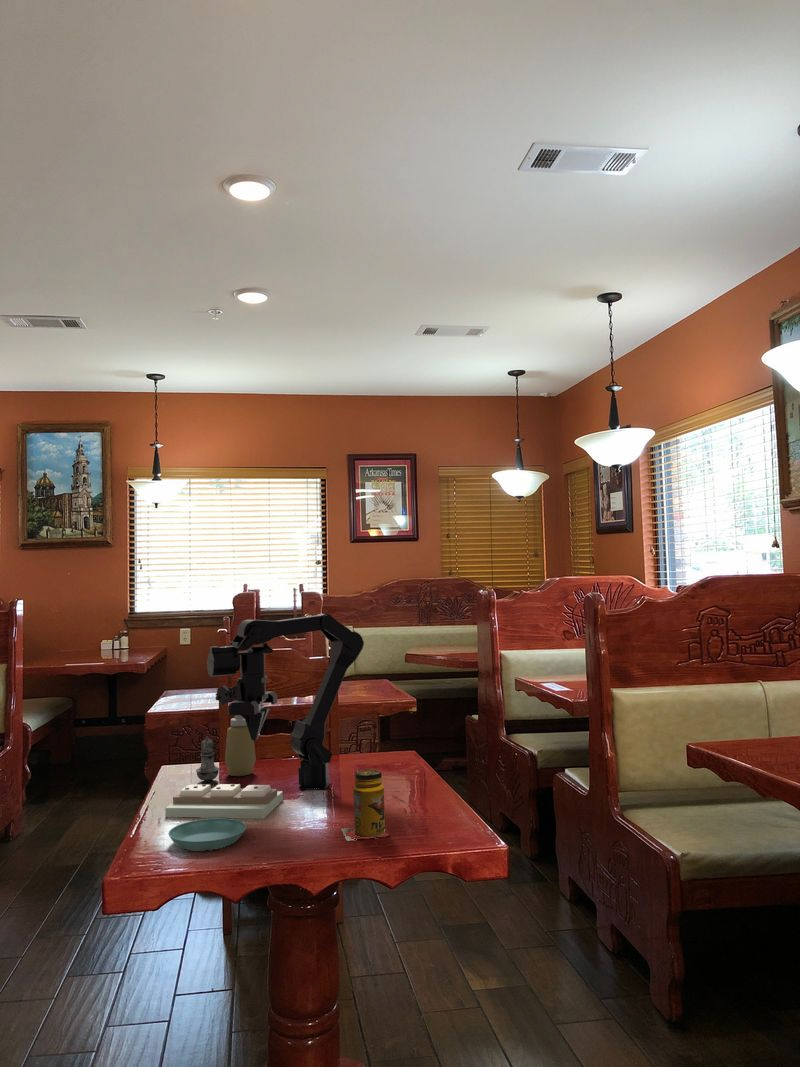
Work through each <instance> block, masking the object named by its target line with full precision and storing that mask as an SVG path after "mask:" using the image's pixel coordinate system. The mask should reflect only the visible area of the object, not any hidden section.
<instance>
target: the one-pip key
mask: <svg viewBox="0 0 800 1067" xmlns="http://www.w3.org/2000/svg"><path fill="white" fill-rule="evenodd" d="M242 789H243V790H242V791H241V797H265V796H266V795H267V794H268V793H270V789H271V784H248V785H247V786H246V787H244V788H242Z"/></svg>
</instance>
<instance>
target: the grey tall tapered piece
mask: <svg viewBox="0 0 800 1067" xmlns="http://www.w3.org/2000/svg"><path fill="white" fill-rule="evenodd" d="M200 744H201V745H200V746H201V747H200V748H201V753H200V754H199V756H200V757H201V758H200V760H201V763H200V767H199V768H197V769H195V773H196V775H197V777H198V779H199V780H201V781H199V782H198V783H197V784H196V785H204V784H205V785H211V787H214V786H217V785H219V784H220V782H219V781H217V780H216V778H217V777H218V775H219V771H220V769H221V768H220V767H218V766H216V765H215V762H214V761H215V760H214V758H215V754H216V753H215V752H214V742H213V740H212V739H210V738H209V735H206V736H205V739H203V740H202V741H201V742H200ZM218 783H219V784H218ZM213 785H214V786H213Z"/></svg>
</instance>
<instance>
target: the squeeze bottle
mask: <svg viewBox="0 0 800 1067" xmlns="http://www.w3.org/2000/svg"><path fill="white" fill-rule="evenodd" d="M254 741H255V740H251V737H250V733H249V730H248V727H247V724H246V721H245V719H244V718H243V717H242V716H241V715H234V717H233V718H230V726H229V727H228V728H227V729H226V741H225V744H226V745H225V753H224V754H225V755H224V763H225V767H226V770H227V771H228V772H227V773H228V775H229V776H232V777H233V776H234V777H243V776H244V777H245V776H248V775H251V774H252V773H253V770H254V767H255V763H256V760H257V758H256V748H255V742H254Z"/></svg>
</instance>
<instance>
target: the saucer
mask: <svg viewBox="0 0 800 1067" xmlns="http://www.w3.org/2000/svg"><path fill="white" fill-rule="evenodd" d="M246 829H247V825H246V824H245V823H244V822H243V821H241V820H238V819H235V818H201V819H197V820H191V821H187V822H184V823H180V824H178V825H176V826H174V827H172V828H170V830H169V831H168V836H169V838H170V839H171V840H172V842H173V843H174V844H175V845H176V846H177V847H179V848H181V849H183V850H185V849H186V850H185V851H190V850H191V851H193V852H204V851H205V850H209V851H214V850H213V849H215V850H220V849H224V848H227V847H229V846H231V844H232V845H234V844H235V843H236V842H237V841H238V840H239V839H240V838H241V836H242V835H243V834H244V832H245V831H246ZM226 846H227V847H226ZM223 847H224V848H223ZM219 848H220V849H219ZM205 852H206V851H205Z"/></svg>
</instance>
